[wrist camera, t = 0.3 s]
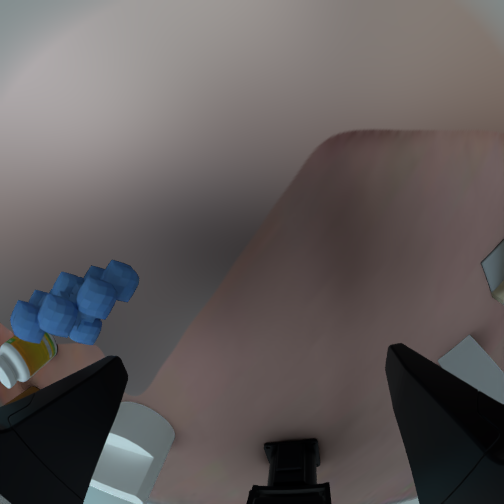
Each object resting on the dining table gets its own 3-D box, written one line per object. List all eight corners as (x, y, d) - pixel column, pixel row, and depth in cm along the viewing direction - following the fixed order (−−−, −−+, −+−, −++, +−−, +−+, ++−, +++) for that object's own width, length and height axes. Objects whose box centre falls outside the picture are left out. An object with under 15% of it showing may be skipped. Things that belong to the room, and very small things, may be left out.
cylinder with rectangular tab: (166, 409, 30) (128, 484, 18) (181, 450, 32) (154, 516, 20) (106, 395, 31) (61, 455, 19) (126, 436, 33) (92, 493, 21)
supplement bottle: (38, 314, 29) (-11, 348, 20) (63, 346, 30) (17, 387, 20) (28, 330, 30) (-15, 363, 21) (51, 360, 31) (10, 397, 22)
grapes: (86, 321, 28) (17, 378, 16) (64, 264, 26) (-18, 307, 15) (172, 307, 25) (104, 389, 14) (147, 238, 24) (54, 286, 12)
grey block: (448, 381, 24) (485, 447, 14) (437, 360, 24) (480, 430, 13) (477, 357, 23) (522, 416, 13) (469, 334, 23) (521, 395, 12)
